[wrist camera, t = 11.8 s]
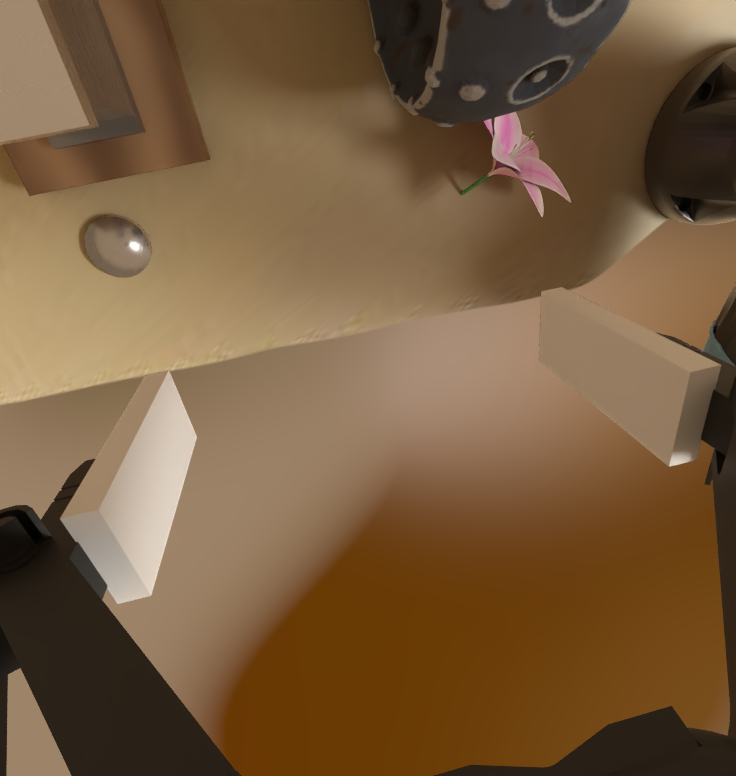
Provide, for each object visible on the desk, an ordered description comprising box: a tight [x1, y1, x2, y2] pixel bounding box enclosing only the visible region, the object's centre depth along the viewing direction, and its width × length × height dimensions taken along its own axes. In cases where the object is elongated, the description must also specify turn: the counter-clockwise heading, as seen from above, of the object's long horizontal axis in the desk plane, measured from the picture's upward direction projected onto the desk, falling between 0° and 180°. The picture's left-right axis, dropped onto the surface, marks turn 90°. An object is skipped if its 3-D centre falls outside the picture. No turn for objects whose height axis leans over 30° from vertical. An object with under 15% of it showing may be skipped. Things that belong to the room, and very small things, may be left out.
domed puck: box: [84, 215, 152, 277], centre depth 38 cm, size 5×5×1 cm
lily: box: [461, 112, 572, 217], centre depth 38 cm, size 12×12×10 cm
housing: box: [0, 0, 146, 149], centre depth 25 cm, size 6×8×12 cm
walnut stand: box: [4, 0, 210, 196], centre depth 32 cm, size 13×13×3 cm
